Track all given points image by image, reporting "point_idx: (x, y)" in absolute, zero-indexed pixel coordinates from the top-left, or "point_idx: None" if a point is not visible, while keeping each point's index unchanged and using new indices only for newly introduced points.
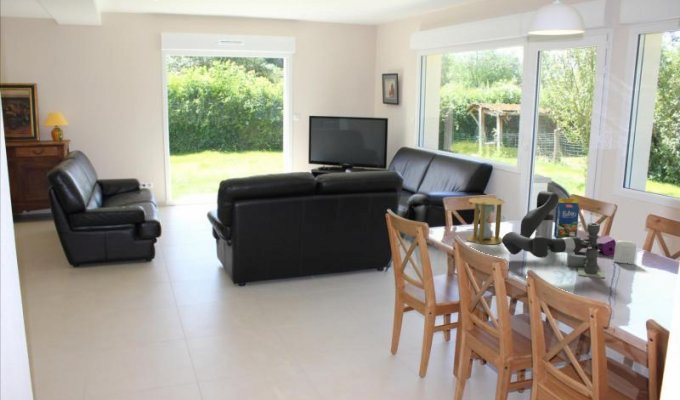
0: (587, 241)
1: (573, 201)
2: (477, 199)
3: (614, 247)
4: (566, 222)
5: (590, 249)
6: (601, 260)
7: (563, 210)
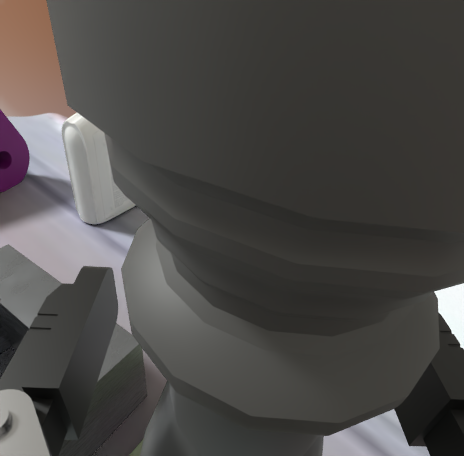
0: (87, 370)
1: None
2: None
3: (15, 145)
4: None
5: None
6: (32, 248)
7: None
